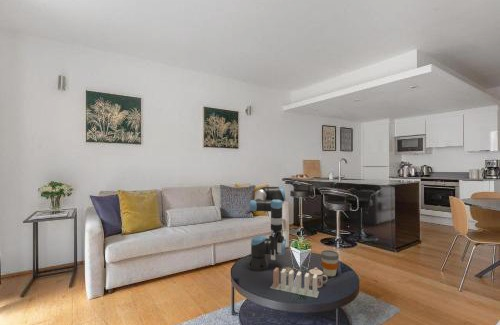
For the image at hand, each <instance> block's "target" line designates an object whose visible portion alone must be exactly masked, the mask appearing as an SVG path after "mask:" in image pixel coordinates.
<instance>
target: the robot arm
mask: <svg viewBox="0 0 500 325" xmlns="http://www.w3.org/2000/svg"><path fill="white" fill-rule="evenodd" d="M285 201H286V191H285V188H284V187H283V186H262V187H259V188H258V189H256V191H255V193H254V199H251V200H249V211H251V212H270V235H269V236H268V238H267V237H266V236H265V235H256V236H254V237H252V238H251V241H250V259H249V262H248V268H249V270H251V271H256V272H261V271H262V272H263V271H266V270H268V269H269V262H268V259H267V255H270V260H271V261H275V260H276V256H279V255H280V256H282V255H284V254H285V252H286V251H285V250H286V243H287V239H286V238H285V236H284V235H283V221H284V219H283V204H284V202H285Z"/></svg>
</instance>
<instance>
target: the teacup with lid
mask: <svg viewBox="0 0 500 325" xmlns="http://www.w3.org/2000/svg"><path fill="white" fill-rule="evenodd" d="M308 273H309V287H311V288H313V276H314V274H316V275H317V289H318V288H323V286H324V285H323V284H325V283H327V281H328V276H326V275H324V274H323V270H320V269H318V267H314V268H312V269H309V271H308ZM323 277H325V278H326V279H325V280H323V279H324V278H323Z"/></svg>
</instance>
